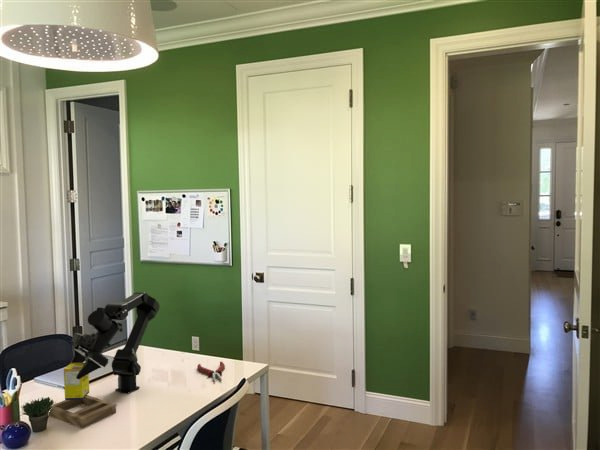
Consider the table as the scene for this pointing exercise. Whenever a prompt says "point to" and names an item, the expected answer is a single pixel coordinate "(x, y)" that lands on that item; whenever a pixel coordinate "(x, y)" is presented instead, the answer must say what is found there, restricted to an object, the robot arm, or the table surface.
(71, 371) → the supplement box
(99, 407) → the socket plate
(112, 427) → the table surface
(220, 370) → the pliers
